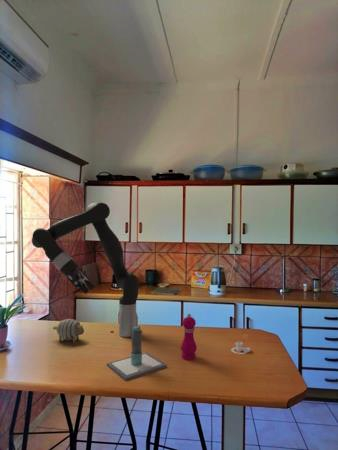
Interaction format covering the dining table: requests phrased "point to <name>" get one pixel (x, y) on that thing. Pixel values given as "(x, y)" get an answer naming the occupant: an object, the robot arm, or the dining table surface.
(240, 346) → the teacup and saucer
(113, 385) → the dining table surface
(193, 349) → the pepper mill
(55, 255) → the robot arm
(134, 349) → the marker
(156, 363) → the grey flat block
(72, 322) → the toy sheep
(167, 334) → the dining table surface
